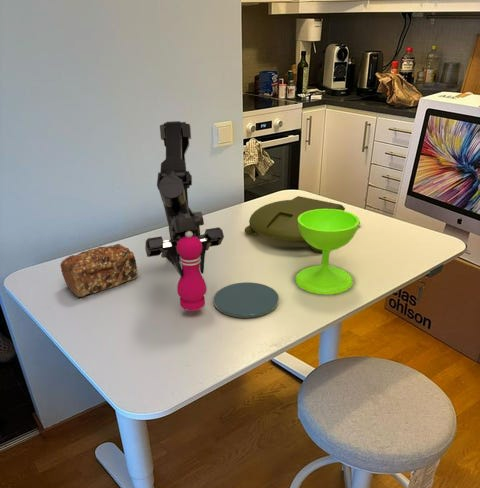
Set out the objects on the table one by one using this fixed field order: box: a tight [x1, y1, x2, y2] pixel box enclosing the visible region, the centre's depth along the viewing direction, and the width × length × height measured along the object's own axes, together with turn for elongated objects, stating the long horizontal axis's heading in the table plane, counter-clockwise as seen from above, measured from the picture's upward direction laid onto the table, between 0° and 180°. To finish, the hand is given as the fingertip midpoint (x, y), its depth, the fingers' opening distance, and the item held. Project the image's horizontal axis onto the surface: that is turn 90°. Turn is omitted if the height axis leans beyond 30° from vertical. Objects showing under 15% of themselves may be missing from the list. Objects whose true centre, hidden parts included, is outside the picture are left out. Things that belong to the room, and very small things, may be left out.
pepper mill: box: [176, 230, 207, 311], centre depth 119 cm, size 7×7×20 cm
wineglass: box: [295, 209, 360, 296], centre depth 134 cm, size 16×16×18 cm
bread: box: [59, 243, 138, 298], centre depth 139 cm, size 19×11×10 cm, turn 127°
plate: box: [213, 281, 280, 319], centre depth 130 cm, size 17×17×1 cm
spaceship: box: [244, 195, 361, 253], centre depth 165 cm, size 35×31×10 cm
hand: (192, 275), depth 119 cm, fingers closed on pepper mill, 5 cm apart
